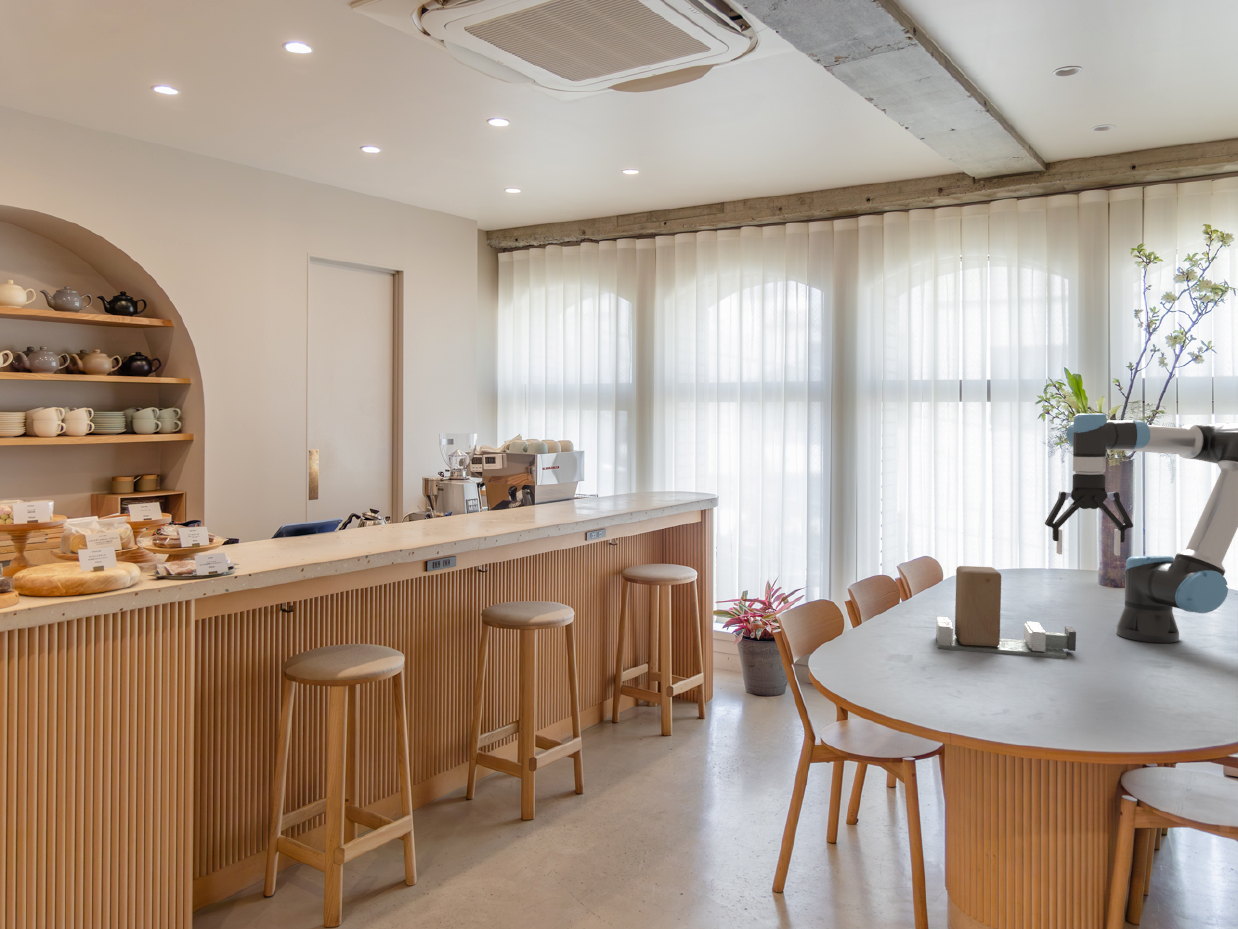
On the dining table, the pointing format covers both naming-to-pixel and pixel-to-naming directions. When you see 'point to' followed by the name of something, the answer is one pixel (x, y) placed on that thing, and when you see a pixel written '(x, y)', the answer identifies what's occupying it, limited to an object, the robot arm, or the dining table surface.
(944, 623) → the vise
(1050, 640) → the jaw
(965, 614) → the wooden block
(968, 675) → the dining table surface
